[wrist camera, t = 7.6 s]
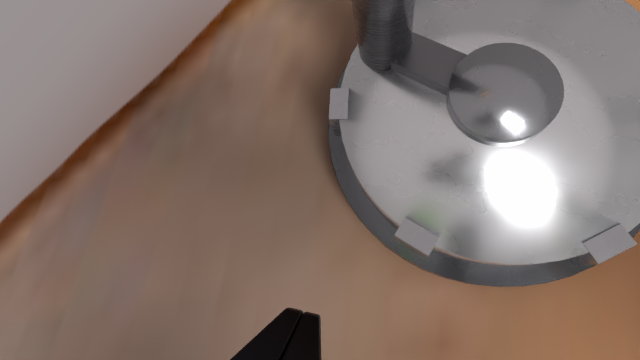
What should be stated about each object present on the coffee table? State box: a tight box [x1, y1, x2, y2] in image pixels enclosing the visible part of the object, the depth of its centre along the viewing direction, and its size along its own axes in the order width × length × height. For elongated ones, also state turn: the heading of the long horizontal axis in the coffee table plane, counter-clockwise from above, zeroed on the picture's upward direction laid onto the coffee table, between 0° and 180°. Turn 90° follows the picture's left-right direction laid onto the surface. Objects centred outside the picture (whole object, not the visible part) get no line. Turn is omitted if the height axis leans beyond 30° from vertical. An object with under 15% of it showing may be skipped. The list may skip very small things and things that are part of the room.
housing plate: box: [329, 64, 640, 287], centre depth 22 cm, size 18×18×2 cm
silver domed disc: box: [329, 0, 640, 266], centre depth 14 cm, size 16×17×14 cm
